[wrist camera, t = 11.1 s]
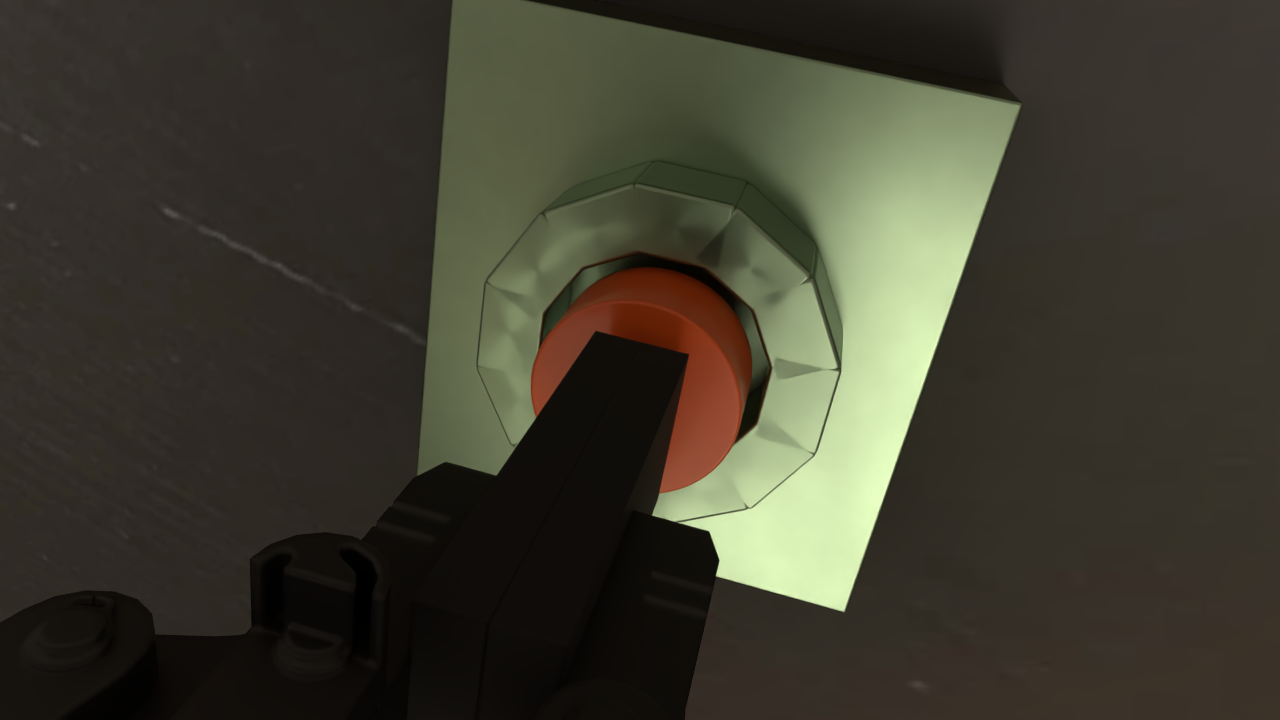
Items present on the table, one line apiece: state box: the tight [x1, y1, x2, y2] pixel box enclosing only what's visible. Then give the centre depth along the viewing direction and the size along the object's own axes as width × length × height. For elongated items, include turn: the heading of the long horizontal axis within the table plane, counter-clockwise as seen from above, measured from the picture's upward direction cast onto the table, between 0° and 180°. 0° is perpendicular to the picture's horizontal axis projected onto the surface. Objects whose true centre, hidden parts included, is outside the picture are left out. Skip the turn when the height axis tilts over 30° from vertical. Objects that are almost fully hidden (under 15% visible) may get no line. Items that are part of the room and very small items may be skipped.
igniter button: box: [531, 267, 752, 493], centre depth 16 cm, size 4×4×2 cm
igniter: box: [416, 0, 1023, 612], centre depth 18 cm, size 11×10×4 cm
